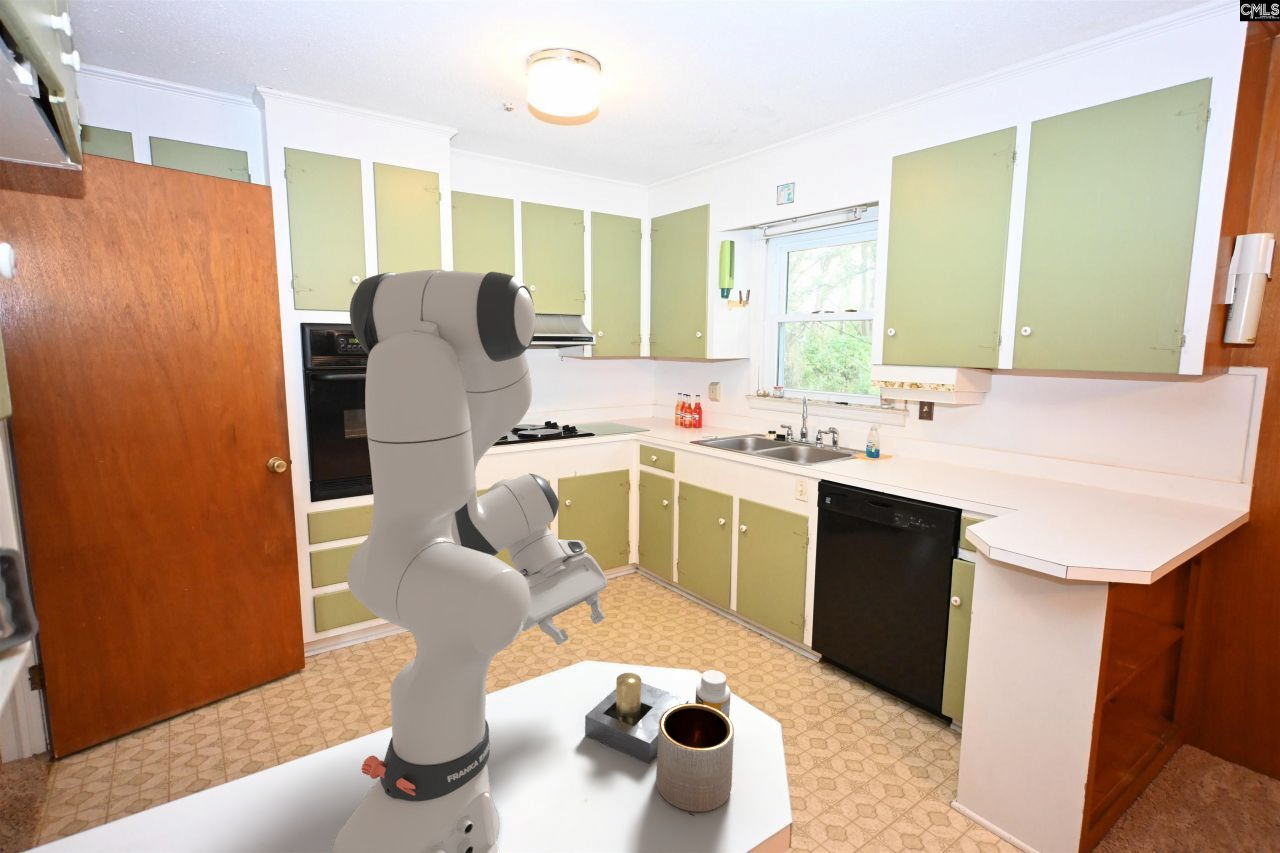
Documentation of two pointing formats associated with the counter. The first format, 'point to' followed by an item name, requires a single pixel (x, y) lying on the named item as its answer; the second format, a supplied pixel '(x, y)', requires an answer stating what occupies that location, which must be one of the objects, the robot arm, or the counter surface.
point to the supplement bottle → (714, 691)
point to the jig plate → (624, 736)
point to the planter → (695, 757)
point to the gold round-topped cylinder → (628, 698)
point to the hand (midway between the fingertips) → (582, 631)
